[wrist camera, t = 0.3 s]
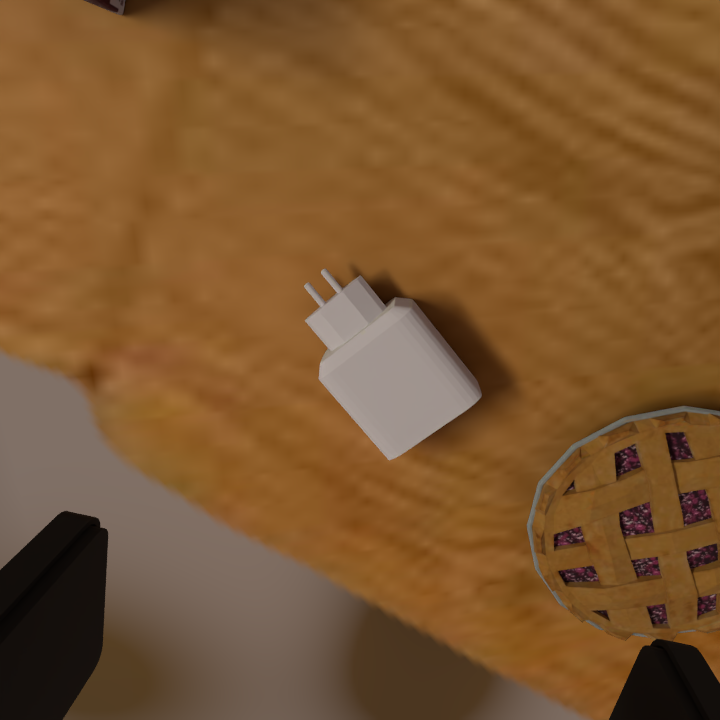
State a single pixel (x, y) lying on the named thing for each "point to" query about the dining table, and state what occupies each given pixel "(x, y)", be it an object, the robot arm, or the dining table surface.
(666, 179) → the dining table surface
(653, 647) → the robot arm
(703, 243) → the dining table surface
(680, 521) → the pie
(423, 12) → the dining table surface
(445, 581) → the dining table surface
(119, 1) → the supplement box
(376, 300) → the charger
